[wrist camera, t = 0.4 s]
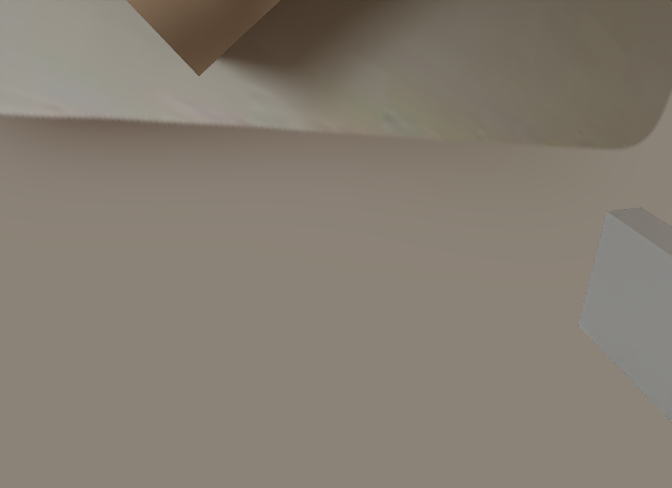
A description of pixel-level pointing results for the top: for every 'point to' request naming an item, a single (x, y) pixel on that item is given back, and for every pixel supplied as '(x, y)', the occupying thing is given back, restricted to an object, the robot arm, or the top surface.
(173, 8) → the socket block
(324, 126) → the top surface
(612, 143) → the top surface
